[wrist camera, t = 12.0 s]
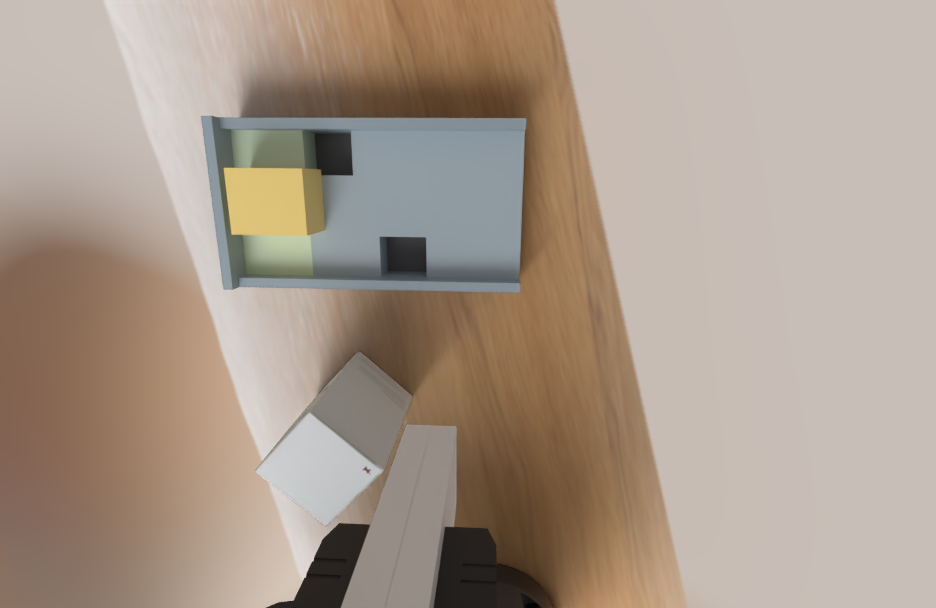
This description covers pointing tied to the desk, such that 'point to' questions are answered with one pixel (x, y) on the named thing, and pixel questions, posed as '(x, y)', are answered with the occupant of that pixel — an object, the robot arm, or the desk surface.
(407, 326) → the desk surface
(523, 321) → the desk surface
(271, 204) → the block
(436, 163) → the tray
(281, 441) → the supplement box
